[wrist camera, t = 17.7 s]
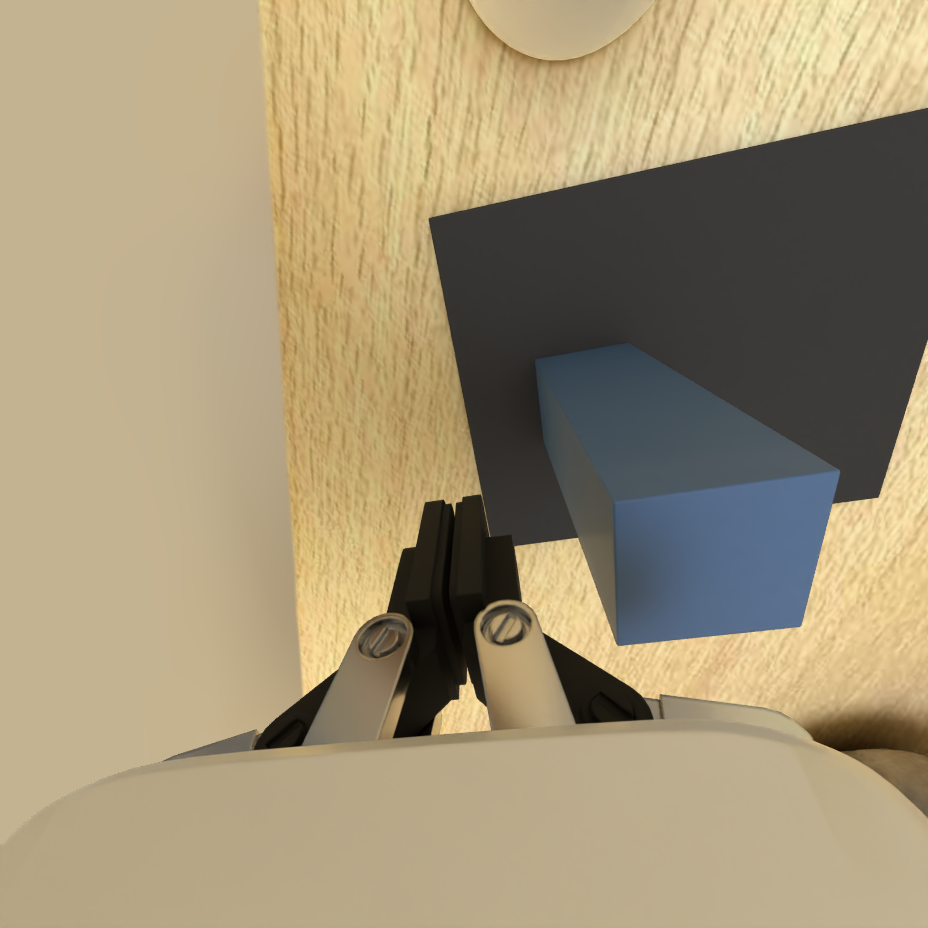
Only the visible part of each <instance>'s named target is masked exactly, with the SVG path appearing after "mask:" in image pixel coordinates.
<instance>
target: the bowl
mask: <svg viewBox="0 0 928 928" xmlns="http://www.w3.org/2000/svg"><path fill="white" fill-rule="evenodd" d="M841 753H844V754H846V755H848V756H850V757H851V758H853V759H855V760H857V761H859V762H861V763H862V764H864V765H866V766H867V767H869V768H870V769H872V770H874V771H875V772H876V773H878V774H879V775H880V776H882V777H883V778H884V779H885V780H887V781H888V782H889V783H891V784H892V785H893V786H894V787H896V788H897V789H898V790H899V791H900V792H901V793H902V794H903V795H904V796H905V797H906V798H908V799H909V800H910V801H911V802H912V803H913V804H914V805H915V806H916V807H917V808H918V809H919V810H920V811H921V812H922V813H923V814H924V815H925V816H926V817H927V818H928V755H924V754H920V753H915V752H910V751H903V750H891V749H886V748H880V749H865V750H855V751H843V752H841Z"/></svg>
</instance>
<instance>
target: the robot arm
mask: <svg viewBox="0 0 928 928" xmlns="http://www.w3.org/2000/svg"><path fill="white" fill-rule="evenodd" d="M467 668H468V672H469V675H470V679H471V682H472V684H473V685H474V689H475V693H476V697H477V699H478V700H480V701H481V702H482V703H483V704H484V705H485V706H486V707H487V709H488V715H489V720H490V726H491V731H481V732H468V733H456V734H443V735H439V733H440V729H441V724H442V713H441V710H442V709H443V708H444V707H445V706H446V705H447V704H448V703H449V702H450V701H451V700H457V699H459V685H465V684H466V682H467ZM0 928H928V818H927V817H926V816H925V815H924V814H923V813H922V812H921V811H920V810H919V809H918V808H917V807H916V806H915V805H914V804H913V803H912V802H911V801H910V800H909V799H908V798H906V797H905V796H904V795H903V794H902V793H901V792H900V791H899V790H898V789H897V788H896V787H894V786H893V785H892V784H891V783H889V782H888V781H887V780H885V779H884V778H883V777H882V776H880V775H879V774H878V773H876V772H875V771H874V770H872V769H870V768H869V767H867V766H866V765H864V764H862V763H861V762H859V761H857V760H855V759H853V758H851V757H850V756H848V755H846V754H844V753H841V752H839V751H837V750H835V749H832V748H830V747H827V746H825V745H822V744H820V743H817V742H815V741H814V740H813V738H812V737H811V735H810V734H809V733H808V732H807V731H806V730H805V729H804V728H803V727H802V726H801V725H800V724H799V723H797V722H796V721H795V720H793V719H791V718H790V717H788V716H786V715H784V714H782V713H781V712H778V711H774V710H770V709H767V708H762V707H754V706H747V705H739V704H731V703H723V702H716V701H708V700H700V699H692V698H684V697H677V696H669V695H661V694H660V697H659V700H658V699H651V698H643V697H642V696H641V695H640V694H639V693H637V692H636V691H635V690H634V689H633V688H631V687H630V686H628V685H627V684H625V683H623V682H622V681H620V680H618V679H617V678H615V677H614V676H612V675H610V674H609V673H607V672H606V671H604V670H602V669H601V668H599V667H598V666H596V665H594V664H593V663H591V662H589V661H588V660H586V659H585V658H583V657H581V656H580V655H578V654H577V653H575V652H573V651H572V650H570V649H569V648H567V647H565V646H564V645H562V644H560V643H559V642H557V641H556V640H554V639H552V638H551V637H549V636H548V635H546V634H544V633H543V632H542V629H541V627H540V624H539V621H538V618H537V616H536V614H535V613H534V611H533V609H531V608H530V607H529V606H528V605H527V604H525V603H522V598H521V591H520V583H519V576H518V569H517V562H516V556H515V549H514V543H513V537H512V534H510V535H503V536H495V537H489V532H488V527H487V522H486V517H485V512H484V506H483V501H482V497H481V494H480V495H473V496H466V497H463V498H462V502H458V503H456V510H455V515H454V511H453V507H452V504H445V501H444V500H438V501H431V502H426V503H425V505H424V510H423V515H422V520H421V525H420V529H419V534H418V539H417V544H416V547H412V548H405V549H403V551H402V554H401V558H400V562H399V566H398V570H397V574H396V578H395V582H394V586H393V590H392V594H391V598H390V602H389V606H388V610H387V613H385V614H381V615H379V616H376V617H374V618H372V619H371V620H369V621H367V622H366V623H365V624H364V625H363V626H362V627H361V628H360V629H359V630H358V632H357V633H356V635H355V636H354V638H353V640H352V642H351V644H350V646H349V648H348V650H347V653H346V655H345V657H344V659H343V661H342V663H341V665H340V667H339V669H338V670H337V671H335V672H334V673H333V674H332V675H330V676H329V677H328V678H327V679H325V680H324V681H323V682H322V683H320V684H319V685H318V686H317V687H315V688H314V689H313V690H312V691H310V692H309V693H308V694H306V695H305V696H304V697H303V698H301V699H300V700H299V701H298V702H296V703H295V704H294V705H293V706H291V707H290V708H289V709H288V710H286V711H285V712H284V713H283V714H281V715H280V716H279V717H278V718H276V719H275V720H274V721H273V722H272V723H271V724H270V725H269V726H268V727H267V728H266V729H265V730H264V732H263V733H261V734H259V733H258V731H257V730H253V731H250V732H247V733H244V734H240V735H237V736H234V737H231V738H228V739H225V740H222V741H218V742H215V743H212V744H209V745H206V746H203V747H200V748H197V749H194V750H191V751H187V752H184V753H181V754H178V755H175V756H172V757H170V758H168V759H166V760H164V761H162V762H158V763H154V764H150V765H146V766H141V767H137V768H133V769H130V770H127V771H124V772H121V773H118V774H115V775H112V776H109V777H106V778H103V779H101V780H98V781H96V782H94V783H92V784H89V785H87V786H85V787H83V788H81V789H78V790H76V791H74V792H72V793H70V794H68V795H66V796H64V797H62V798H61V799H59V800H57V801H55V802H54V803H52V804H50V805H49V806H47V807H45V808H44V809H42V810H41V811H39V812H38V813H36V814H35V815H34V816H32V817H31V818H30V819H29V820H27V821H26V822H25V823H23V824H22V825H21V826H20V827H19V828H18V829H17V830H16V831H15V832H14V833H13V834H11V835H10V836H9V837H8V838H7V839H6V840H5V841H4V842H3V844H1V845H0Z"/></svg>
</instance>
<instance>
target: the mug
mask: <svg viewBox="0 0 928 928" xmlns="http://www.w3.org/2000/svg"><path fill="white" fill-rule="evenodd" d="M469 1H470V3H471V4H472V6H473V8H474V10H475V11H476V13H477V14H478V15H479V17H480V18H481V19H482V21H483V22H484V24H485V25H486V26H487V27H488V28H489V29H490V30H491V31H492V32H493V33H494V34H495V35H496V36H497V37H498V38H499V39H500V40H502V41H503V42H504V43H506V44H507V45H508V46H510V47H511V48H513V49H515V50H517V51H519V52H521V53H523V54H525V55H528V56H531V57H534V58H538V59H544V60H568V59H573V58H578V57H582V56H584V55H587V54H590V53H593V52H595V51H597V50H599V49H600V48H602V47H604V46H606V45H608V44H609V43H611V42H612V41H614V40H615V39H616V38H618V37H619V36H620V35H622V34H623V33H624V32H626V31H627V30H628V29H629V28H630V27H631V26H632V25H633V24H634V23H635V22H637V21H638V20H639V19H640V18H641V17H642V16H643V14H644V13H645V12H646V11H647V10H648V9H649V8H650V6H651V5H652V4H653V3H654V2H655V1H656V0H469Z"/></svg>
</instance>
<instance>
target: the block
mask: <svg viewBox="0 0 928 928" xmlns="http://www.w3.org/2000/svg"><path fill="white" fill-rule="evenodd" d="M535 367H536V376H537V385H538V394H539V403H540V413H541V422H542V431H543V440H544V444H545V446H546V449H547V452H548V455H549V458H550V460H551V463H552V466H553V469H554V471H555V474H556V477H557V480H558V483H559V485H560V488H561V491H562V494H563V496H564V499H565V502H566V505H567V508H568V510H569V513H570V516H571V519H572V521H573V524H574V527H575V530H576V533H577V535H578V538H579V541H580V544H581V546H582V549H583V552H584V555H585V558H586V560H587V563H588V566H589V569H590V572H591V574H592V577H593V580H594V583H595V585H596V588H597V591H598V594H599V597H600V599H601V602H602V605H603V608H604V610H605V613H606V616H607V619H608V622H609V624H610V627H611V630H612V633H613V635H614V638H615V641H616V644H617V645H618V646H623V645H632V644H642V643H651V642H661V641H670V640H680V639H689V638H699V637H708V636H718V635H728V634H737V633H747V632H756V631H766V630H775V629H785V628H794V627H800V626H801V625H802V621H803V617H804V613H805V609H806V605H807V602H808V598H809V594H810V590H811V586H812V582H813V578H814V574H815V570H816V566H817V562H818V558H819V554H820V550H821V546H822V542H823V539H824V535H825V531H826V527H827V523H828V519H829V515H830V511H831V507H832V503H833V499H834V495H835V491H836V487H837V483H838V480H839V476H840V470H839V469H837V468H835V467H834V466H832V465H830V464H829V463H827V462H825V461H824V460H822V459H820V458H819V457H817V456H815V455H814V454H812V453H810V452H809V451H807V450H805V449H804V448H802V447H800V446H799V445H797V444H795V443H794V442H792V441H790V440H789V439H787V438H785V437H784V436H782V435H781V434H779V433H777V432H776V431H774V430H772V429H771V428H769V427H767V426H766V425H764V424H762V423H761V422H759V421H757V420H756V419H754V418H752V417H751V416H749V415H747V414H746V413H744V412H742V411H741V410H739V409H737V408H736V407H734V406H732V405H731V404H729V403H727V402H726V401H724V400H722V399H721V398H719V397H718V396H716V395H714V394H713V393H711V392H709V391H708V390H706V389H704V388H703V387H701V386H699V385H698V384H696V383H694V382H693V381H691V380H689V379H688V378H686V377H684V376H683V375H681V374H679V373H678V372H676V371H674V370H673V369H671V368H669V367H668V366H666V365H664V364H663V363H661V362H659V361H658V360H656V359H654V358H653V357H651V356H650V355H648V354H646V353H645V352H643V351H641V350H640V349H638V348H636V347H635V346H633V345H631V344H630V343H624V344H618V345H612V346H607V347H601V348H596V349H590V350H584V351H579V352H573V353H568V354H562V355H557V356H551V357H545V358H540V359H535Z"/></svg>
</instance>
